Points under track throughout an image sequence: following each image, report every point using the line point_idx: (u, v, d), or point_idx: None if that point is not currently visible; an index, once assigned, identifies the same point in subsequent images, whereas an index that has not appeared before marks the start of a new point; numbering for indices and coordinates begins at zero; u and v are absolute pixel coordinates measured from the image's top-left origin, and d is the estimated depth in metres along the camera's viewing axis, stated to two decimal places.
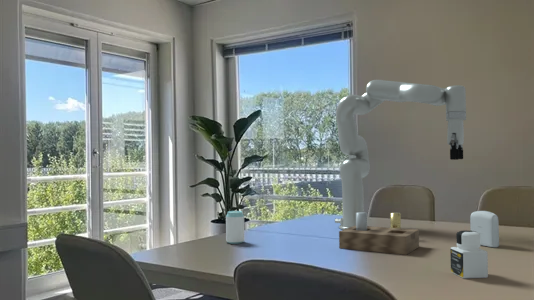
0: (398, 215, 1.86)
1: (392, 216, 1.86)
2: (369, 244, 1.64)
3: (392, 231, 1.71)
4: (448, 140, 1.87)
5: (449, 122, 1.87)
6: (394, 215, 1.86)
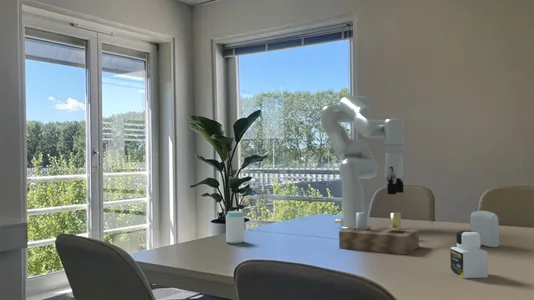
0: (398, 215, 1.86)
1: (392, 216, 1.86)
2: (369, 244, 1.64)
3: (392, 231, 1.71)
4: (385, 174, 1.84)
5: (386, 156, 1.85)
6: (394, 215, 1.86)
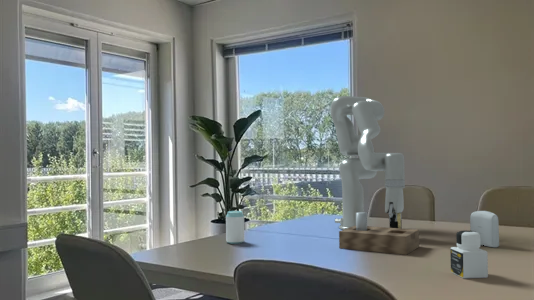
0: (398, 215, 1.86)
1: None
2: (369, 244, 1.64)
3: (392, 231, 1.71)
4: (386, 209, 1.84)
5: (387, 191, 1.85)
6: (394, 215, 1.86)
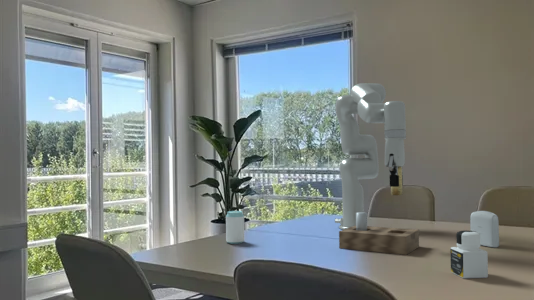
0: (399, 169, 1.69)
1: None
2: (369, 244, 1.64)
3: (392, 231, 1.71)
4: (385, 162, 1.68)
5: (386, 142, 1.69)
6: (395, 169, 1.69)
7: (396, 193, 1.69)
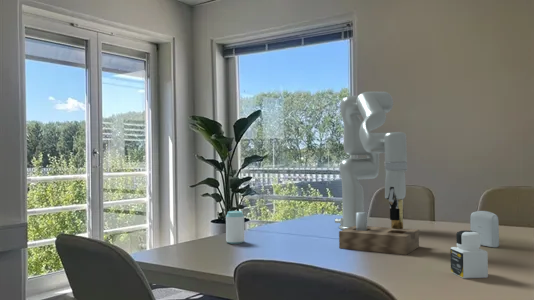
0: (400, 202, 1.65)
1: None
2: (369, 244, 1.64)
3: (392, 231, 1.71)
4: (386, 195, 1.64)
5: (387, 174, 1.64)
6: None
7: (396, 227, 1.65)
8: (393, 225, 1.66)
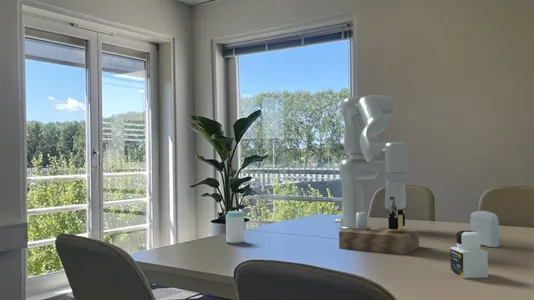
0: (400, 217, 1.65)
1: None
2: (369, 244, 1.64)
3: None
4: (386, 205, 1.64)
5: (387, 184, 1.64)
6: None
7: None
8: None
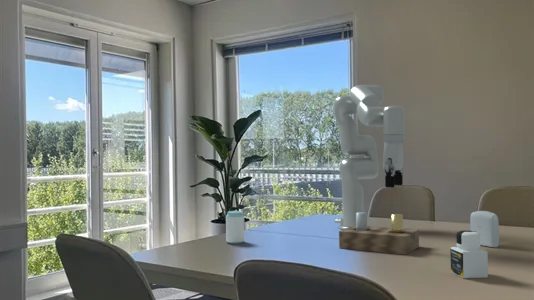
0: (400, 217, 1.65)
1: (393, 218, 1.66)
2: (369, 244, 1.64)
3: None
4: (384, 166, 1.72)
5: (385, 146, 1.72)
6: (395, 217, 1.65)
7: None
8: None
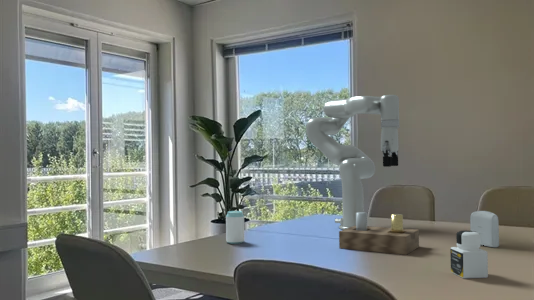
0: (400, 217, 1.65)
1: (393, 218, 1.66)
2: (369, 244, 1.64)
3: None
4: (381, 148, 1.93)
5: (382, 130, 1.94)
6: (395, 217, 1.65)
7: None
8: None
